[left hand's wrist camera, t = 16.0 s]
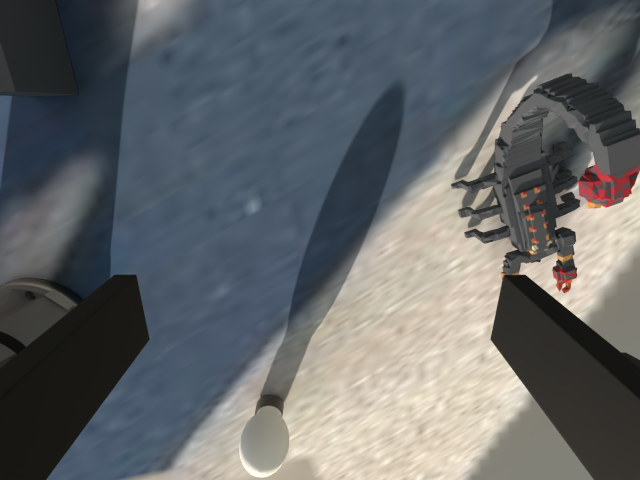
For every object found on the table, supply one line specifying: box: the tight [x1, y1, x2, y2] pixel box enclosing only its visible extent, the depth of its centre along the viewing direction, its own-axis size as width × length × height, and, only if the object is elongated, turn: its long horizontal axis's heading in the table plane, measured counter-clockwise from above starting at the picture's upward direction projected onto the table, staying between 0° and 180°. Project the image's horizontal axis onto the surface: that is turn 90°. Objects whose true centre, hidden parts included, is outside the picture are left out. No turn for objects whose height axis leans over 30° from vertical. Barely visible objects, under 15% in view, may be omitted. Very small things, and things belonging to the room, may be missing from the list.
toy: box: [451, 73, 640, 293], centre depth 35 cm, size 13×27×18 cm, turn 22°
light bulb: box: [239, 396, 289, 477], centre depth 50 cm, size 7×7×11 cm
